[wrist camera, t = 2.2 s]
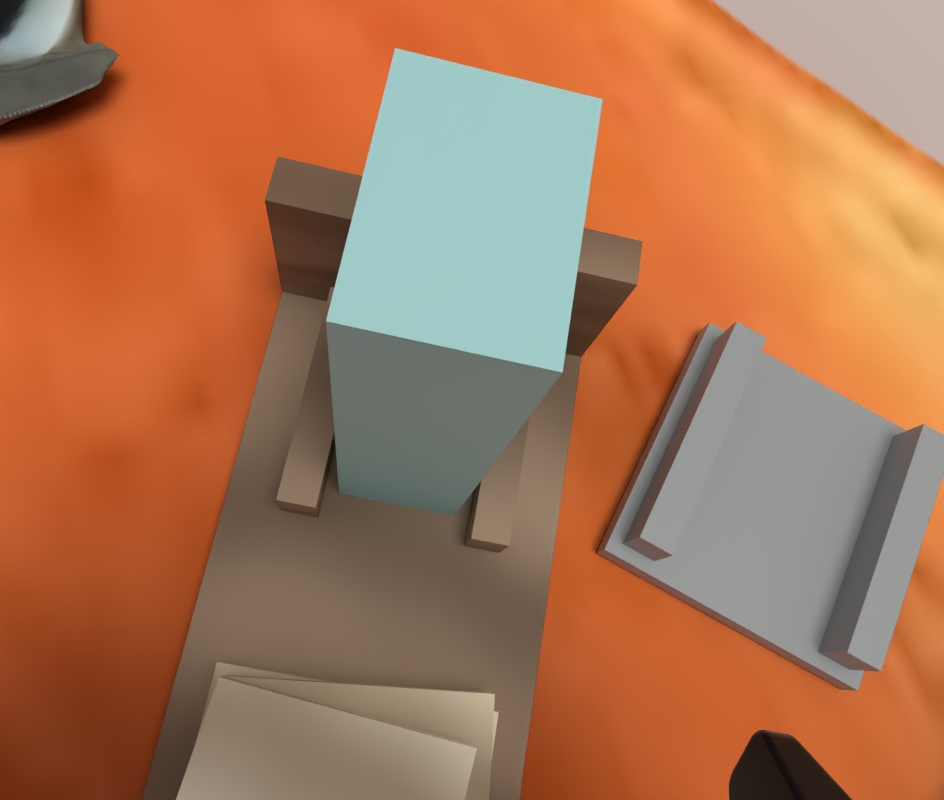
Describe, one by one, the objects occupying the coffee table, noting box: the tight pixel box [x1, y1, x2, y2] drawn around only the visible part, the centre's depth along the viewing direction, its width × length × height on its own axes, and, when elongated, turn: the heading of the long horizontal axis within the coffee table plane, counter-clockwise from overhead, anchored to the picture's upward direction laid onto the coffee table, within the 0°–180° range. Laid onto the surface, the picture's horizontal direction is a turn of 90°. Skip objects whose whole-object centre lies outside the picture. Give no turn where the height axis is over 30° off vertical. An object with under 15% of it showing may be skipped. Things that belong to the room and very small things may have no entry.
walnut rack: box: [142, 157, 642, 800], centre depth 19 cm, size 16×9×6 cm, turn 170°
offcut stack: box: [176, 662, 499, 800], centre depth 19 cm, size 5×7×2 cm, turn 80°
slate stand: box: [596, 322, 944, 691], centre depth 23 cm, size 8×8×2 cm
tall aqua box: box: [326, 48, 603, 516], centre depth 17 cm, size 4×3×12 cm
